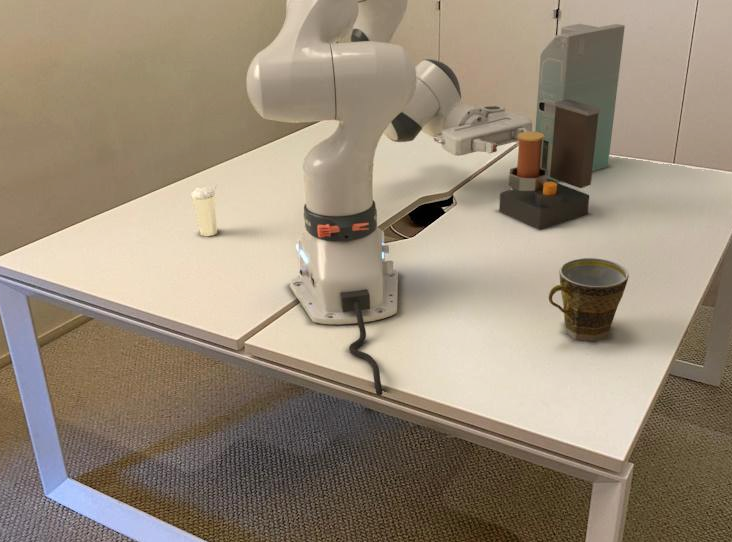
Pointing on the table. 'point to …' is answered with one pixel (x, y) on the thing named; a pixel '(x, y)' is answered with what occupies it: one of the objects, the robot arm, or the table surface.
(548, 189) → the power button
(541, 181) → the coffee maker
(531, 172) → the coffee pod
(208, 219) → the milkshake
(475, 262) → the table surface
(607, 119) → the device
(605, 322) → the ceramic cup
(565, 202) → the base
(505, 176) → the table surface
